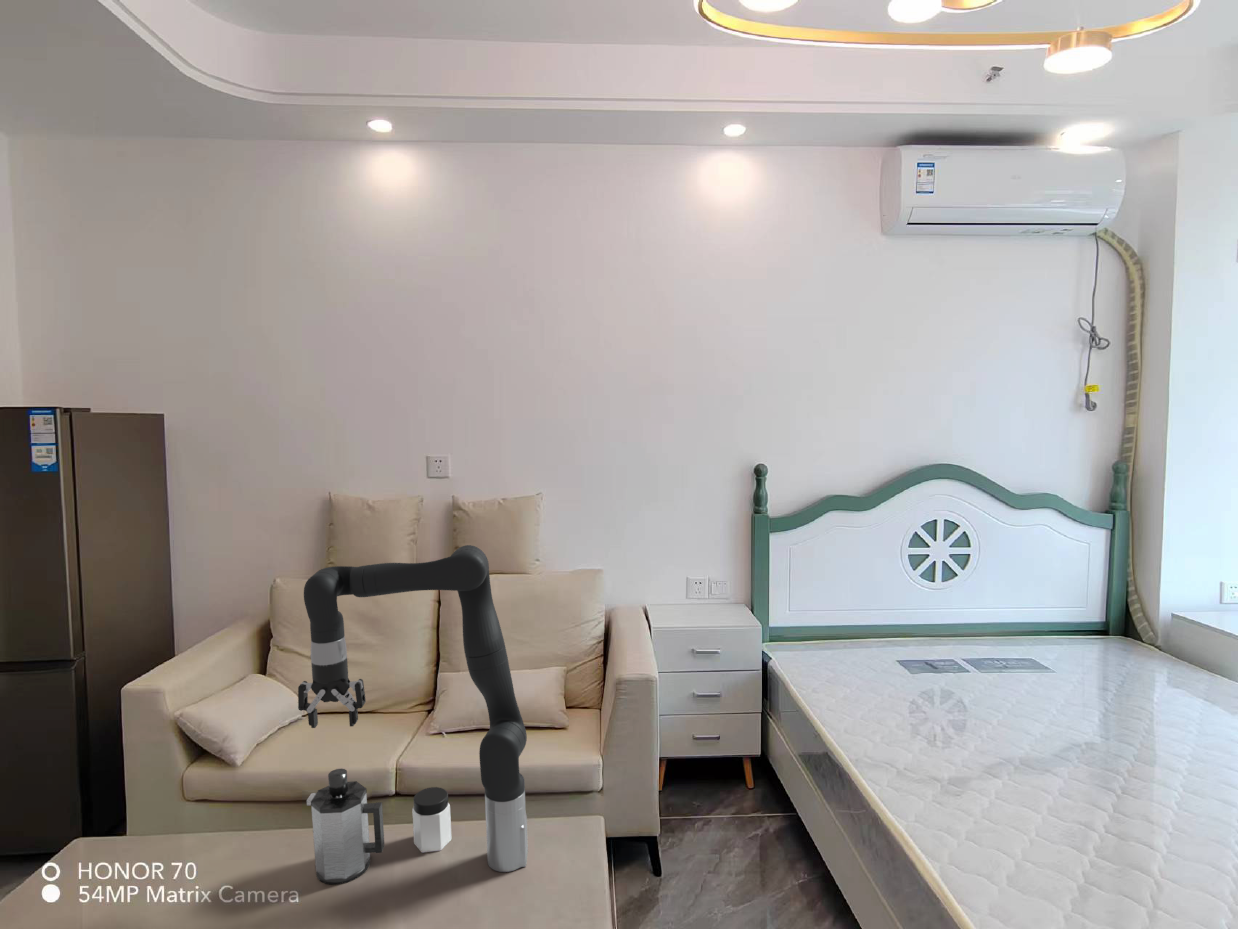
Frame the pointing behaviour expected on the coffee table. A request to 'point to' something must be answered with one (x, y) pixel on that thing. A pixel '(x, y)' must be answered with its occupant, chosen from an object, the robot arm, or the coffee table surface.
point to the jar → (431, 819)
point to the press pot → (344, 833)
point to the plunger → (338, 782)
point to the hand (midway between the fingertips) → (333, 725)
